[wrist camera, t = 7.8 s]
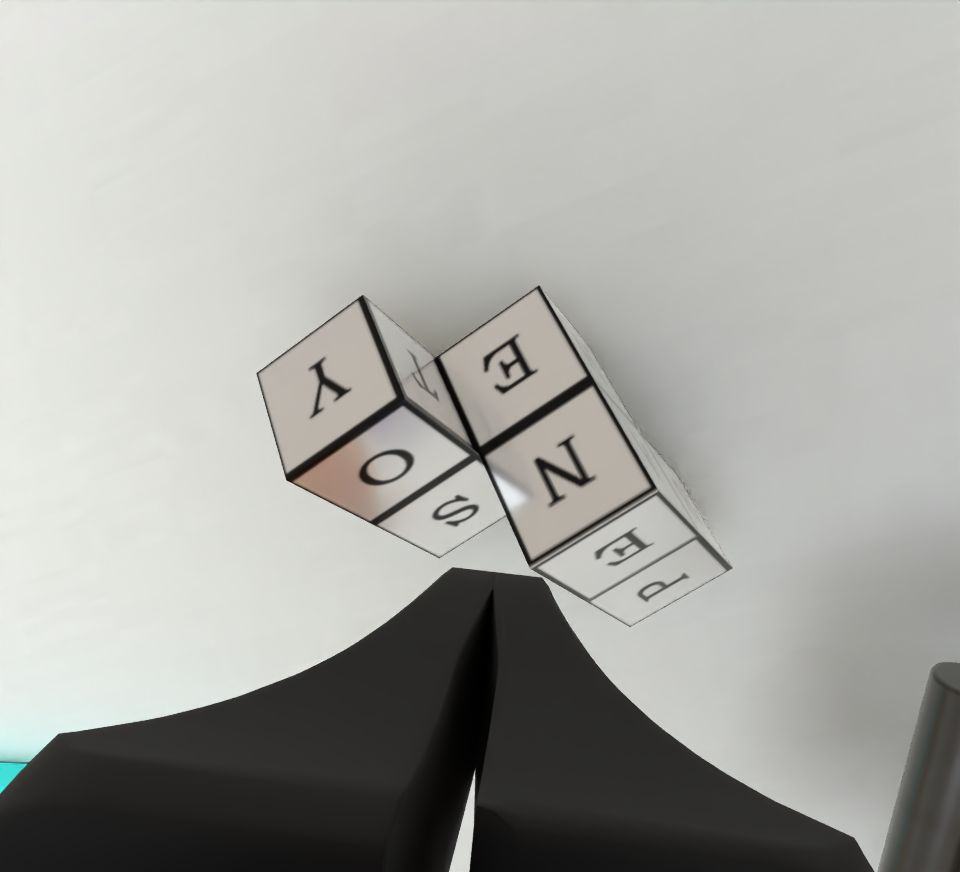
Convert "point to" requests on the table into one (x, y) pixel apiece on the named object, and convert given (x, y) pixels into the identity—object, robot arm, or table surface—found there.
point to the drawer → (930, 784)
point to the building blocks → (491, 451)
